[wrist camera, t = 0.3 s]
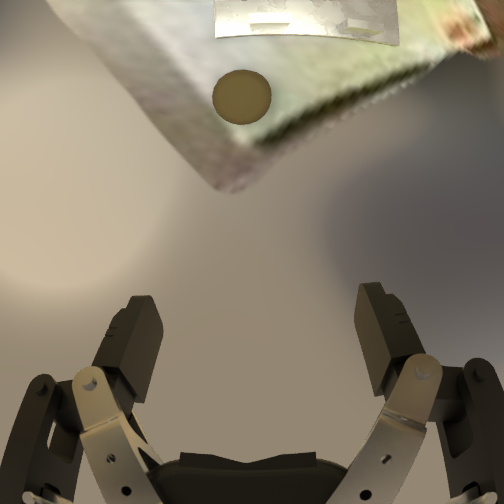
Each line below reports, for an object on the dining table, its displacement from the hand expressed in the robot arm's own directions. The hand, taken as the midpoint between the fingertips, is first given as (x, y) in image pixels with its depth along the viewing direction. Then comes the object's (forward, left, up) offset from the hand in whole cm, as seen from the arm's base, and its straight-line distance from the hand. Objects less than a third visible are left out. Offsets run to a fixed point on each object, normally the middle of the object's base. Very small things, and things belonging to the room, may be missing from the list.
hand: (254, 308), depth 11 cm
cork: (-7, -1, -29) cm, 29 cm away
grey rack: (-19, +7, -28) cm, 35 cm away
